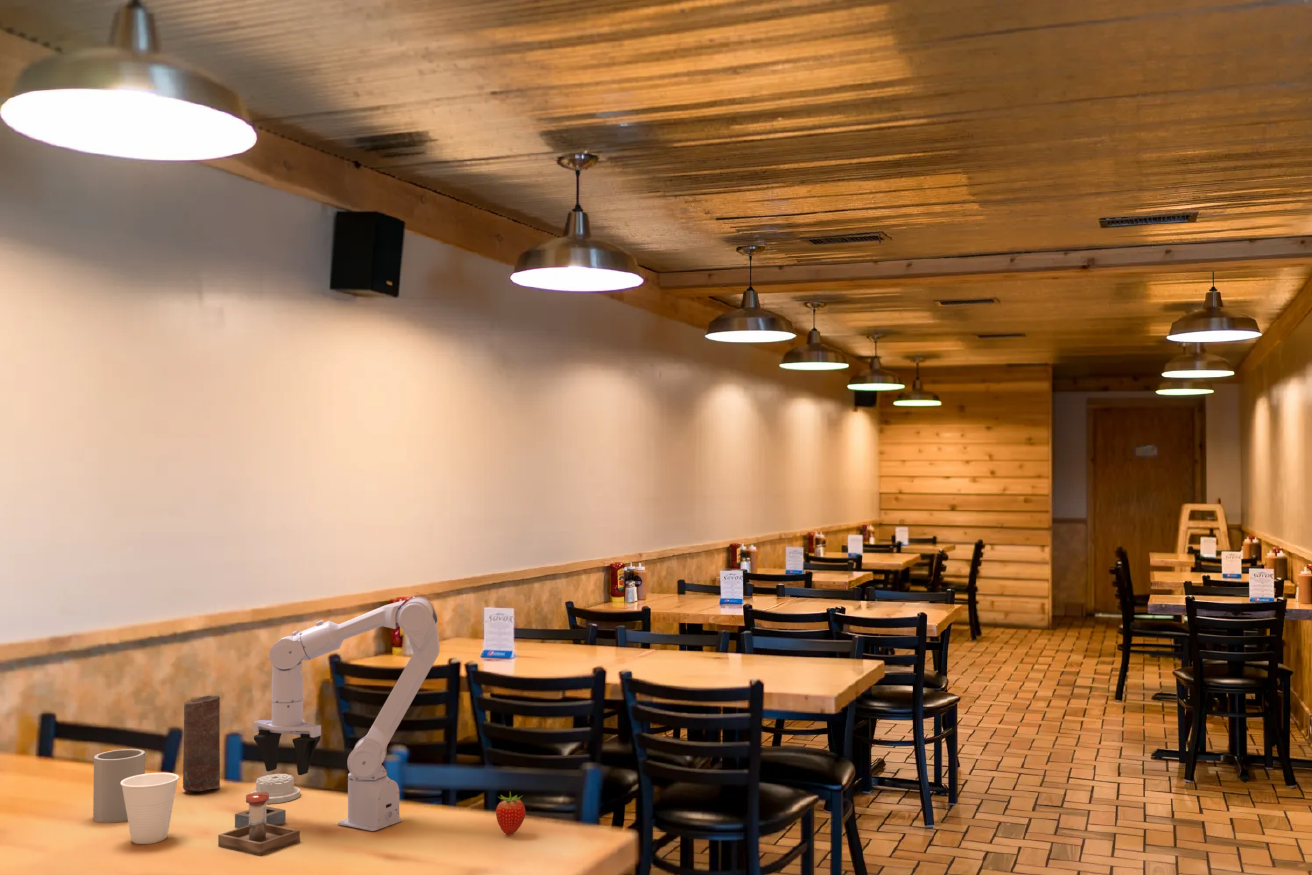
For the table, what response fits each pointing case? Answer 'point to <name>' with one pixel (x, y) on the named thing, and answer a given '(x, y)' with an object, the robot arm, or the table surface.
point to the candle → (201, 743)
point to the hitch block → (272, 817)
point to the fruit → (510, 814)
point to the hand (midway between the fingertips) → (287, 772)
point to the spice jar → (257, 815)
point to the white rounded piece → (277, 788)
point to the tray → (274, 841)
